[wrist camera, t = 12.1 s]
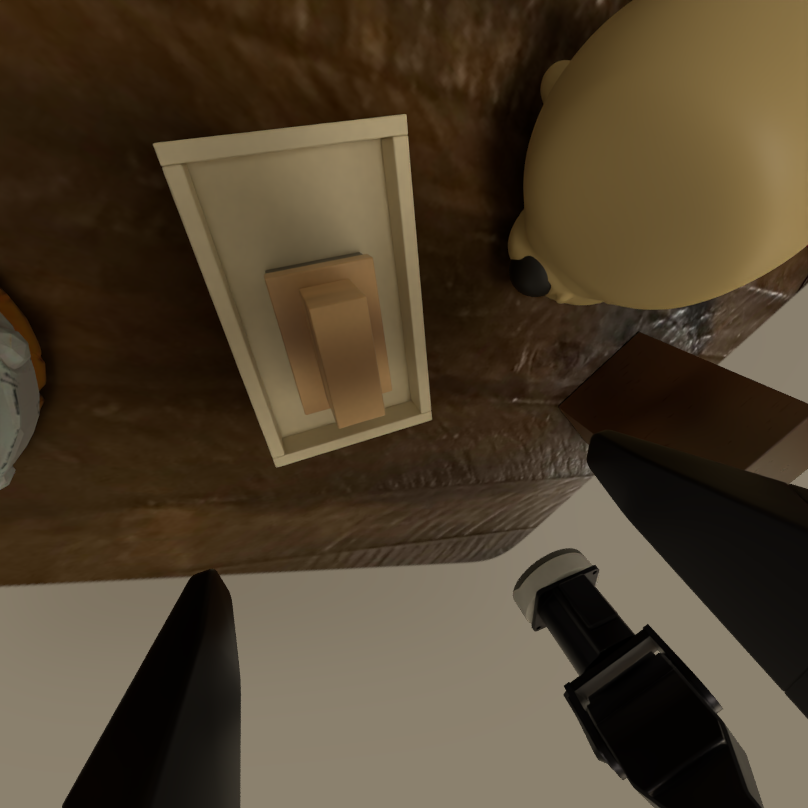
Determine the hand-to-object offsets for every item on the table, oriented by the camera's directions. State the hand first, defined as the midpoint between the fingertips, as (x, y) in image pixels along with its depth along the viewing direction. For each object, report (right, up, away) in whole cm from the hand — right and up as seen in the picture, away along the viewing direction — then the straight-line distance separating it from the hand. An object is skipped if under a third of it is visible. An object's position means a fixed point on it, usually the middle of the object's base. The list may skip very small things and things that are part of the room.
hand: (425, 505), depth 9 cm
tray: (-4, +7, +9) cm, 12 cm away
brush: (-4, +6, +9) cm, 12 cm away
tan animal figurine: (+7, +13, +10) cm, 18 cm away
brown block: (+14, +3, +19) cm, 24 cm away
